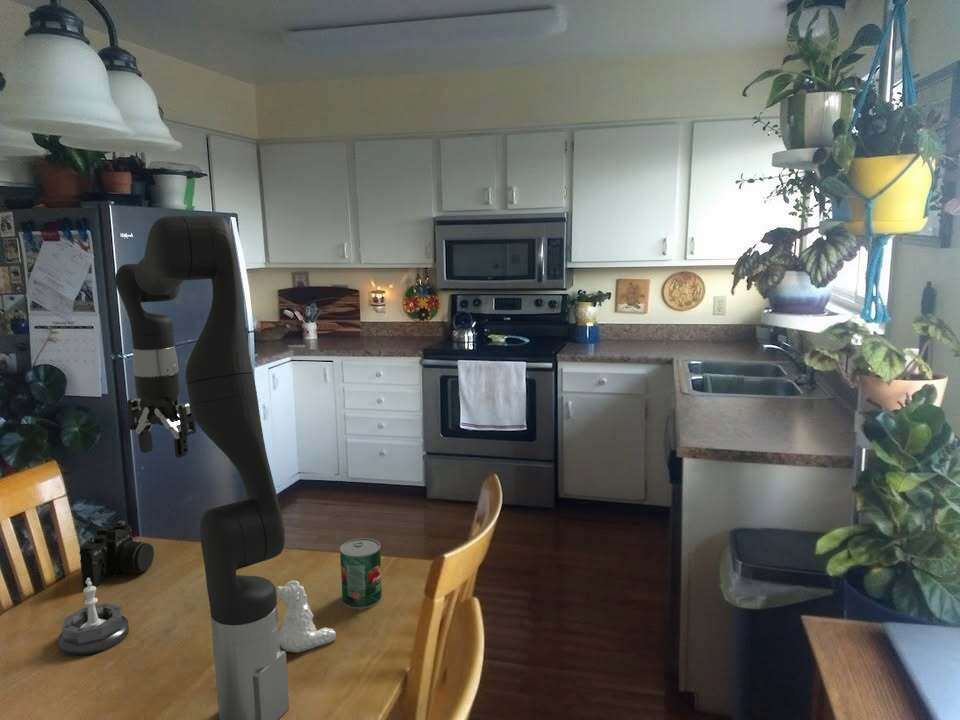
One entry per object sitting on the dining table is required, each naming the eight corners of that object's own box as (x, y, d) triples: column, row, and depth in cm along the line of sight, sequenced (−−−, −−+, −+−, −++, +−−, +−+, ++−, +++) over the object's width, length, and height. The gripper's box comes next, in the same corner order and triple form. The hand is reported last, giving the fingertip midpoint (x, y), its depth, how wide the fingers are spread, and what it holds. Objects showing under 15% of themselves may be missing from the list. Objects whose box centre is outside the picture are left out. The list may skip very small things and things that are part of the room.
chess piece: (103, 619, 126) (97, 569, 124) (114, 629, 122) (109, 577, 121) (74, 631, 122) (67, 579, 120) (85, 641, 119) (78, 588, 117)
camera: (122, 592, 139) (117, 546, 137) (75, 588, 140) (70, 543, 138) (164, 561, 152) (160, 518, 150) (121, 557, 154) (116, 516, 152)
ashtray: (142, 627, 125) (140, 607, 125) (89, 662, 115) (87, 640, 115) (99, 616, 129) (97, 597, 129) (44, 648, 119) (41, 627, 119)
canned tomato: (386, 604, 133) (384, 551, 131) (346, 612, 130) (343, 559, 128) (377, 585, 140) (375, 535, 138) (338, 593, 137) (336, 542, 136)
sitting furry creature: (339, 639, 121) (336, 577, 119) (302, 664, 114) (298, 599, 112) (301, 624, 127) (298, 563, 124) (264, 647, 119) (260, 583, 117)
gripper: (111, 372, 126) (119, 456, 129) (170, 377, 121) (178, 464, 124) (143, 365, 133) (151, 444, 136) (201, 369, 128) (207, 452, 131)
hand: (164, 454), depth 130 cm, fingers open, 8 cm apart
